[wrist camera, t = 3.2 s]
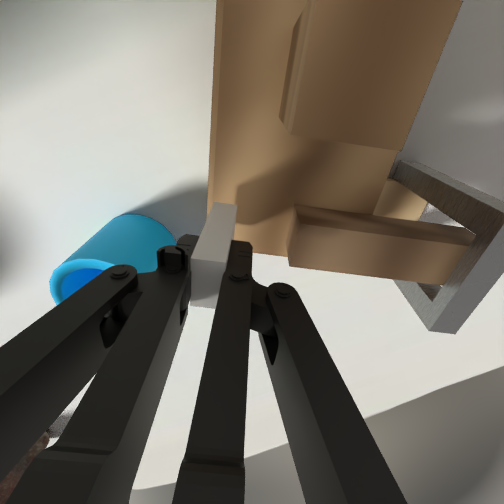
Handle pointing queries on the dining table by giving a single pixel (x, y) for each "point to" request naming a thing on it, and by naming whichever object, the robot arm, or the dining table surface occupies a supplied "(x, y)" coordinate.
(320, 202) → the lid
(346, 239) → the bar
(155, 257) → the mug
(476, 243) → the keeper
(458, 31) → the dining table surface
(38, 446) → the brown piece
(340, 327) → the dining table surface
